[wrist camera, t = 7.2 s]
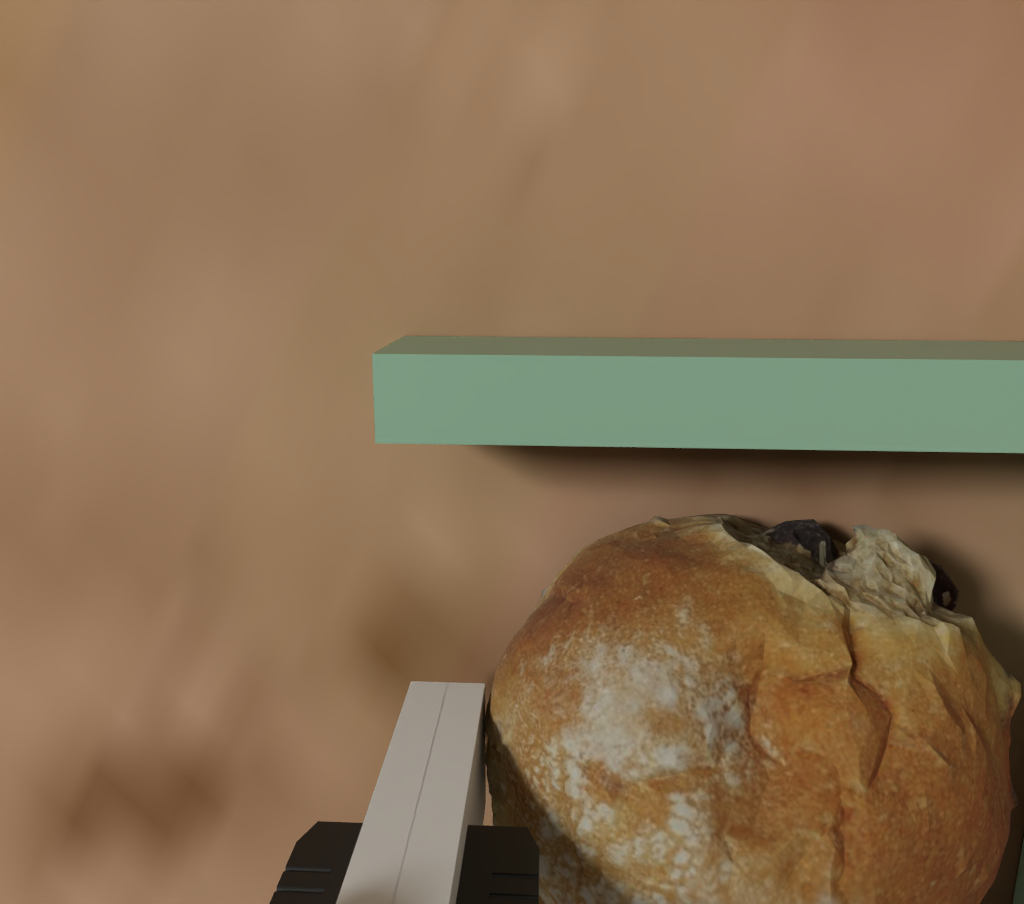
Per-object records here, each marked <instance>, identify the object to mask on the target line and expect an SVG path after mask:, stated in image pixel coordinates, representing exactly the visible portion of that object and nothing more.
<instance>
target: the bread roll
mask: <svg viewBox="0 0 1024 904" xmlns="http://www.w3.org/2000/svg"><path fill="white" fill-rule="evenodd" d="M852 527H853V529H854V531H855V533H856V536H854V537H853V538H852V539H851V540H850V541H848V542H847V543H846V544H843V543H841V542H839V541H836V540H833V539H831V537H830V536H829V534H828V533H827V531H825V530H824V529H823V528H822V527H821V526H820V525H819V524H818V523H817V522H816V521H815V520H814V519H812V520H794V521H785V522H783V523H781V524H779V525H777V526H774V527H772V528H766V527H763V526H760V525H757V524H754V523H751V522H748V521H745V520H742V519H739V518H737V517H736V516H733V515H727V514H709V515H698V516H690V517H683V518H676V519H668V520H667V519H665V518H662V517H653V518H652V519H651V520H650V521H649V522H647V523H643V524H639V525H636V526H633V527H630V528H627V529H625V530H622V531H619V532H617V533H614V534H611V535H609V536H606V537H604V538H601V539H599V540H597V541H596V542H594V543H593V544H591V545H589V546H586V547H584V548H582V549H580V550H579V551H578V552H576V553H575V554H574V556H573V557H572V559H571V561H570V562H569V563H568V564H567V565H566V566H565V567H564V568H563V569H562V570H561V571H560V572H559V574H558V575H557V577H556V578H555V579H554V580H553V582H552V584H551V585H550V586H549V587H547V588H546V589H544V590H543V591H542V598H541V599H540V601H539V603H538V604H537V606H536V608H535V609H534V611H533V613H532V614H531V616H530V617H529V618H528V620H527V621H526V623H525V624H524V625H523V626H522V627H521V629H520V630H519V632H518V633H517V634H516V635H515V636H514V638H513V639H512V641H511V642H510V643H509V645H508V647H507V649H506V650H505V652H504V654H503V656H502V658H501V660H500V662H499V664H498V666H497V669H496V672H495V676H494V681H493V685H492V690H491V694H490V698H489V701H488V704H487V709H486V716H485V726H484V730H485V737H486V739H487V742H486V746H485V750H486V754H485V759H484V760H485V763H486V766H487V778H488V783H489V793H490V794H491V796H492V811H493V825H494V826H509V827H528V829H529V831H530V833H531V834H532V836H533V838H534V840H535V842H536V844H537V846H538V848H539V849H540V851H539V904H980V902H981V901H982V899H983V898H984V896H985V894H986V893H987V891H988V890H989V889H990V887H991V886H992V884H993V883H994V880H995V878H996V875H997V873H998V870H999V867H1000V863H1001V860H1002V856H1003V853H1004V850H1005V847H1006V844H1007V841H1008V838H1009V833H1010V816H1011V811H1012V809H1013V808H1015V807H1017V806H1019V805H1020V804H1019V802H1018V800H1017V797H1016V794H1015V790H1014V787H1013V784H1012V781H1011V778H1010V761H1009V747H1010V744H1011V735H1010V725H1011V719H1012V716H1013V714H1014V712H1015V710H1016V707H1017V705H1018V702H1019V700H1020V698H1021V683H1020V682H1018V681H1017V680H1016V679H1015V678H1014V677H1013V676H1012V675H1011V674H1010V673H1008V672H1007V671H1006V670H1005V669H1004V668H1003V667H1002V666H1001V665H1000V664H999V662H998V661H997V660H996V659H995V658H994V657H993V655H992V654H991V653H990V652H989V651H988V649H987V648H986V646H985V643H984V641H983V639H982V637H981V635H980V633H979V631H978V629H977V627H976V624H975V622H974V620H973V618H972V617H970V616H966V615H963V614H959V613H955V612H952V611H953V610H954V608H955V607H956V602H957V597H958V592H959V590H958V589H957V588H956V586H955V585H954V583H953V582H952V580H951V579H950V578H949V576H948V575H947V574H946V572H945V571H944V570H943V568H942V567H941V566H940V565H939V564H937V563H935V562H933V561H931V560H928V559H927V557H926V556H923V555H921V554H919V553H916V552H914V551H912V550H910V549H909V547H908V545H907V544H906V543H904V542H903V541H902V540H901V539H899V538H898V536H897V535H896V534H895V533H893V532H891V531H889V530H887V529H878V530H876V529H874V528H871V527H869V526H866V525H859V526H852ZM836 551H837V552H836ZM861 628H863V629H861ZM854 629H857V630H854Z"/></svg>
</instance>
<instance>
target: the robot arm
mask: <svg viewBox="0 0 1024 904" xmlns="http://www.w3.org/2000/svg"><path fill="white" fill-rule="evenodd" d="M484 726H485V684H484V683H450V682H416V681H411V683H410V686H409V689H408V692H407V695H406V698H405V701H404V704H403V706H402V709H401V712H400V715H399V718H398V721H397V724H396V727H395V730H394V733H393V736H392V739H391V742H390V745H389V748H388V751H387V754H386V757H385V760H384V763H383V766H382V769H381V772H380V775H379V777H378V780H377V783H376V786H375V789H374V792H373V795H372V798H371V801H370V804H369V807H368V810H367V813H366V816H365V819H364V822H363V823H346V822H320V821H318V822H317V823H316V824H315V825H314V826H313V827H312V828H311V829H310V830H309V831H308V832H307V833H305V834H304V835H303V836H302V837H301V838H300V839H299V840H298V841H297V842H296V844H295V847H294V849H293V851H292V854H291V856H290V858H289V860H288V863H287V865H286V870H285V871H284V872H283V874H282V876H281V879H280V881H279V883H278V885H277V891H276V892H274V894H273V897H272V899H271V901H270V904H539V851H540V849H539V848H538V846H537V844H536V842H535V840H534V838H533V836H532V834H531V833H530V831H529V829H528V827H509V826H483V819H484V811H485V803H486V800H485V760H484V759H485V730H484Z"/></svg>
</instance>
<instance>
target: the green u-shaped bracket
mask: <svg viewBox="0 0 1024 904" xmlns="http://www.w3.org/2000/svg"><path fill="white" fill-rule="evenodd" d="M372 362H373V390H374V419H375V443H396V444H461V445H526V446H591V447H656V448H721V449H786V450H851V451H916V452H981V453H1024V342H1023V341H911V340H800V339H688V338H577V337H465V336H404V337H402V338H400V339H398V340H396V341H395V342H393V343H391V344H389V345H387V346H385V347H384V348H382V349H380V350H378V351H376V352H375V353H373V354H372ZM1012 904H1024V838H1023V844H1022V850H1021V855H1020V861H1019V867H1018V873H1017V879H1016V885H1015V891H1014V897H1013V903H1012Z"/></svg>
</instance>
